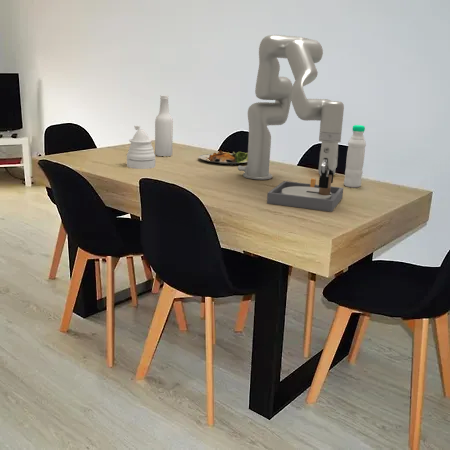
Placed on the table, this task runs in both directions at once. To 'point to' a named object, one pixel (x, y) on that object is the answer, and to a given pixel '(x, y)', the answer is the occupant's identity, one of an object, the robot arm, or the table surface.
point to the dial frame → (301, 201)
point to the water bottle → (355, 157)
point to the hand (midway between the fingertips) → (325, 185)
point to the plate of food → (226, 157)
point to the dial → (310, 191)
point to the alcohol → (163, 129)
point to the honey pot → (140, 151)
